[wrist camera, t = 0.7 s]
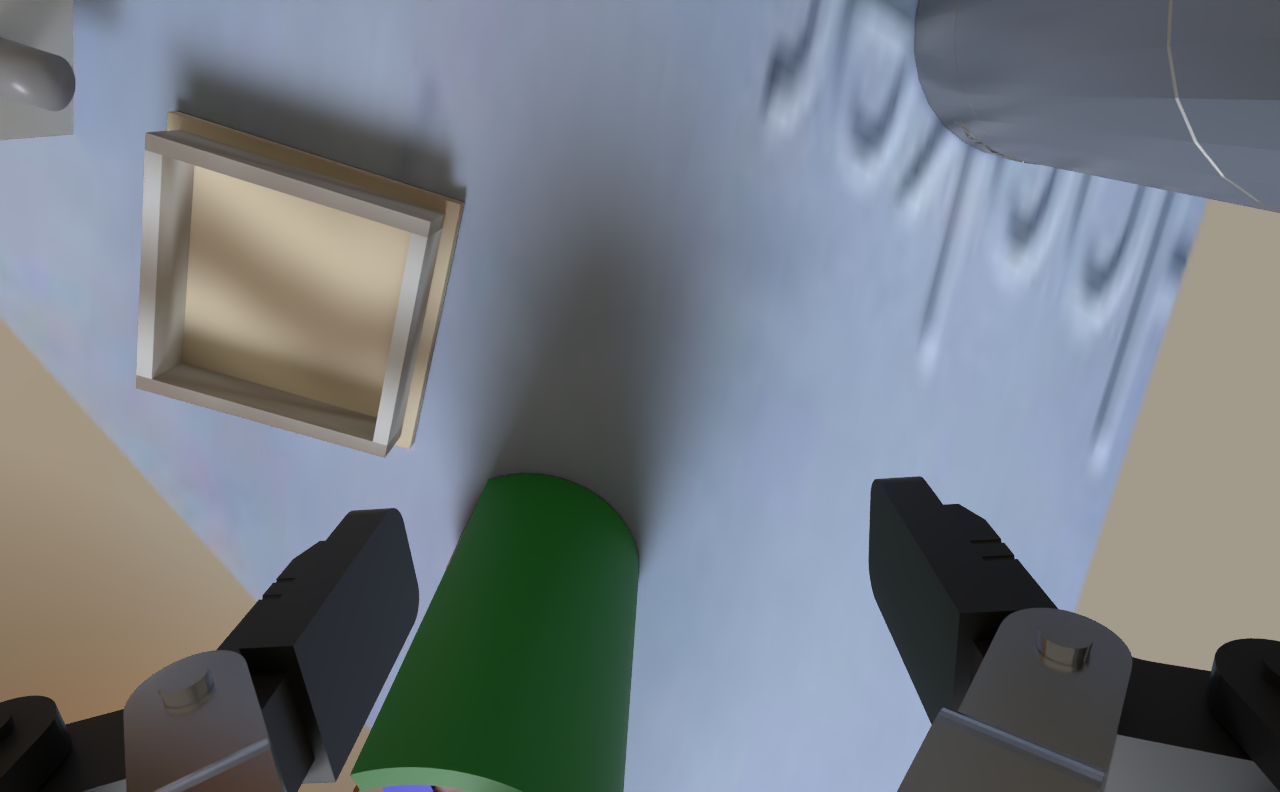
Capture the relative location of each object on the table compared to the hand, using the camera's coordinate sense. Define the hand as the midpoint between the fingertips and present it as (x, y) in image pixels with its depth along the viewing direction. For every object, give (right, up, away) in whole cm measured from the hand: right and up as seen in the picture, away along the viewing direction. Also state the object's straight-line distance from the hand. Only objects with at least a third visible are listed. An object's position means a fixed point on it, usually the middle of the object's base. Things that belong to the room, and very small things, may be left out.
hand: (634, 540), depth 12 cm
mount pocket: (-14, +7, +18) cm, 24 cm away
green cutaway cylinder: (-4, -6, +23) cm, 24 cm away
